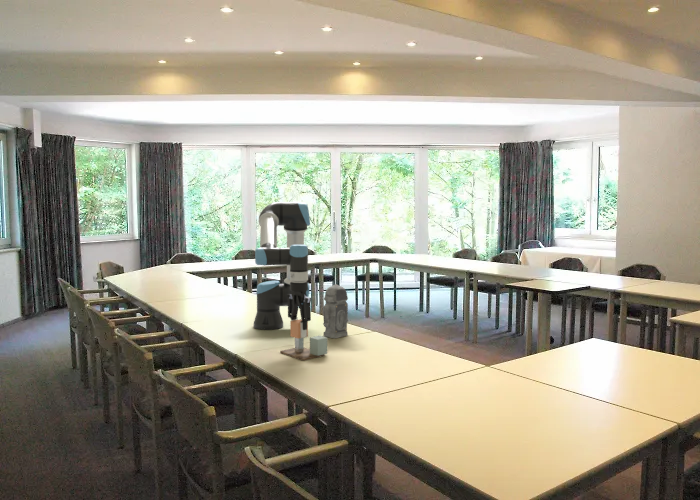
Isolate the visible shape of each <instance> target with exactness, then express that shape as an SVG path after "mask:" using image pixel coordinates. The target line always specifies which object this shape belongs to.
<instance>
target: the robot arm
mask: <svg viewBox="0 0 700 500" xmlns="http://www.w3.org/2000/svg"><path fill="white" fill-rule="evenodd" d="M309 212H310V211H309V207H308V203H306V202H301V201H275V202H272V203H269V204H268V205H266V206H265V207H264V208H263V209H262V210H261V211H260V213H259V214H258V215H259V216H258V225H259V227H260V237H259V238H260V239H259V247H256V248H255V251H254V255H255V256H254V259H255V260H254V261H255V265H257V266H265V267H266V266H286V278H285V279H283V283H281V282H280V281H279V280H268V281H264V282H260V283H258V284H257V285H256V313H255V317H254V319H253V320H254V321H253V328H254V329H257V330H264V331H265V330H266V331H267V330H278V329H281V328H283V327H284V320H283V317H282V314H281V307H287V317H288V318H289V319H290V321H294V320H299V317H298V311H299V312H300V318H301V320H302V321H300V338H303V337H304V338H308V337H307V322H308V323H309V322H310V321H311V317H312V316H311V315H312V313H311V311H312V310H311V302H312V297H309V295H310V283H309V282H308V281H309V269H308V267H309V248H308V245H307V244H305V233H306V231H307V230H308V227H309V226H311V221H310V220H311V218H310V213H309ZM278 226H279V227H281V226H283V230H284V231H285V233H286V247H278V230H277V229H278V228H277V227H278Z"/></svg>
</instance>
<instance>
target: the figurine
mask: <svg viewBox="0 0 700 500" xmlns="http://www.w3.org/2000/svg"><path fill="white" fill-rule="evenodd" d="M347 292H348V291H347V290H346V288H344V286H340V285H338V284H336V283H335V284H333V285H331V286H329V287H327V289H326V290H325V294H324V298H323V300H324V301H325V305H323V309H322V312H323V323H322V324H323V327H324V328H325V331H324V332H323V335H322V336H323V337H327V338H330V339H339V338H344V337H348V335H349V334H348V331H347V330H348V322H349V317H348V312H349V311H348V310H349V307H348V306H349V305H348V303H347V302H348V299H349V297H348V293H347Z"/></svg>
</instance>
